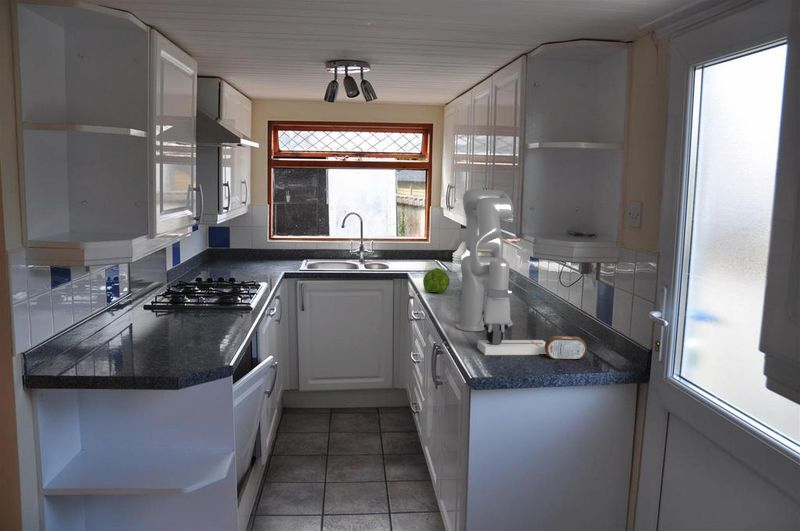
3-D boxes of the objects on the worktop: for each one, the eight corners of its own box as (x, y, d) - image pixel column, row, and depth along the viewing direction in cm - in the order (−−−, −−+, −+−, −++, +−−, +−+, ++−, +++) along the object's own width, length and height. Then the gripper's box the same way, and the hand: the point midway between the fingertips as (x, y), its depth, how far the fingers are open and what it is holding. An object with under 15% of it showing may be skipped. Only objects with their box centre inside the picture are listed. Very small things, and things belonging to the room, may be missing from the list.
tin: (584, 358, 238) (585, 336, 237) (586, 361, 235) (588, 338, 234) (543, 357, 238) (545, 335, 237) (545, 359, 235) (547, 337, 234)
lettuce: (424, 288, 384) (449, 292, 383) (420, 292, 360) (447, 296, 358) (428, 264, 383) (453, 268, 382) (424, 266, 359) (451, 270, 358)
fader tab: (488, 340, 245) (489, 327, 244) (496, 340, 245) (497, 327, 245) (492, 344, 240) (493, 331, 239) (500, 344, 241) (501, 331, 240)
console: (477, 347, 247) (477, 339, 247) (541, 347, 252) (542, 339, 251) (485, 355, 237) (485, 346, 237) (552, 354, 242) (552, 346, 242)
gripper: (515, 292, 245) (512, 339, 248) (473, 291, 243) (470, 339, 245) (522, 295, 238) (518, 344, 240) (479, 295, 235) (476, 344, 238)
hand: (494, 341), depth 243 cm, fingers closed on fader tab, 3 cm apart
